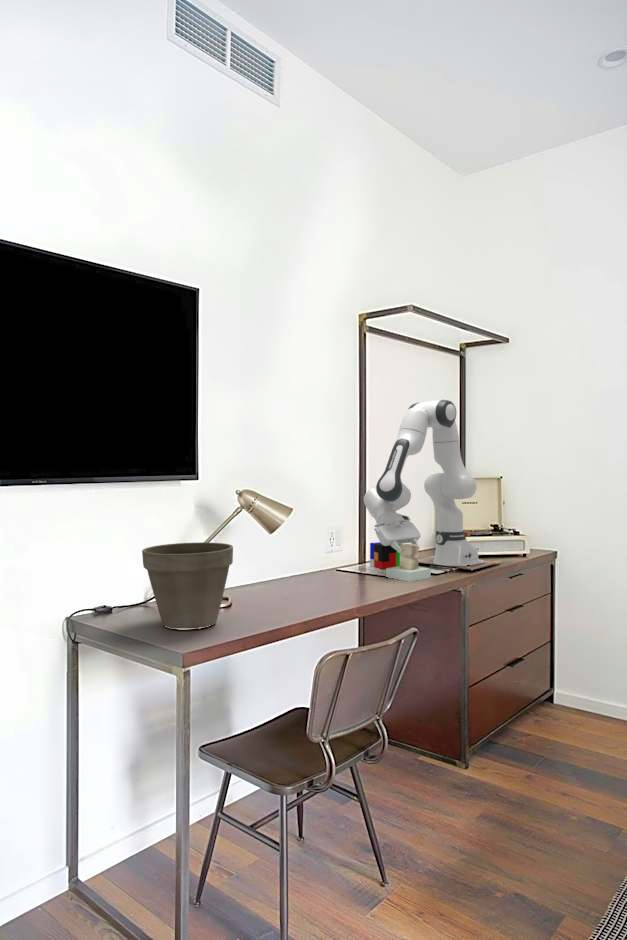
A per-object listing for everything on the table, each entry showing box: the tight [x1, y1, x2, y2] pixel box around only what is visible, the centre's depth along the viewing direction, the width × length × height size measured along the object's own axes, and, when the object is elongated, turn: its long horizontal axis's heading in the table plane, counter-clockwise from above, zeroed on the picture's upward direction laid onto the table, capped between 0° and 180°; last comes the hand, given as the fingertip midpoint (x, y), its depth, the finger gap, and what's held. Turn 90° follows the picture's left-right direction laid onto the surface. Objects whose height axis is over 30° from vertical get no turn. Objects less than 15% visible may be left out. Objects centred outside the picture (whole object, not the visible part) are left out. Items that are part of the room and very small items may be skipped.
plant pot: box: [141, 542, 234, 628], centre depth 190 cm, size 25×25×22 cm
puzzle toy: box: [369, 541, 404, 570], centre depth 287 cm, size 10×10×10 cm
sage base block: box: [385, 566, 432, 583], centre depth 262 cm, size 12×12×4 cm
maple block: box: [400, 543, 420, 570], centre depth 262 cm, size 5×5×9 cm
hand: (409, 550), depth 261 cm, fingers open, 8 cm apart
